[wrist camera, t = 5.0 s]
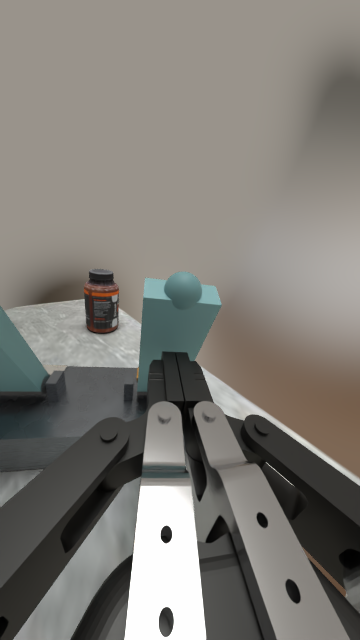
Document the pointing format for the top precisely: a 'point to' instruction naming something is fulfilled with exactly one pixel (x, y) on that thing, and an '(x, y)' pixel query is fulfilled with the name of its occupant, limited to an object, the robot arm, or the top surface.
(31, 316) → the top surface
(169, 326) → the outer lever
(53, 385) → the switch box
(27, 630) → the top surface
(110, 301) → the supplement bottle
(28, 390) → the inner lever
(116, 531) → the top surface
